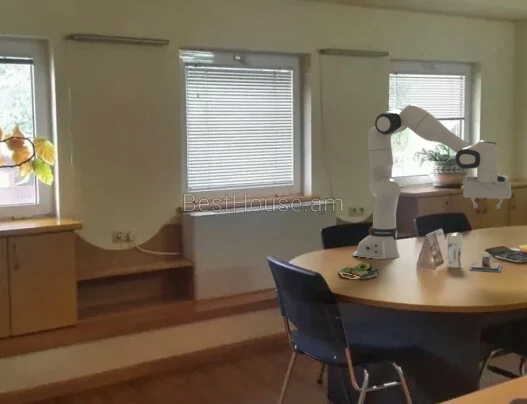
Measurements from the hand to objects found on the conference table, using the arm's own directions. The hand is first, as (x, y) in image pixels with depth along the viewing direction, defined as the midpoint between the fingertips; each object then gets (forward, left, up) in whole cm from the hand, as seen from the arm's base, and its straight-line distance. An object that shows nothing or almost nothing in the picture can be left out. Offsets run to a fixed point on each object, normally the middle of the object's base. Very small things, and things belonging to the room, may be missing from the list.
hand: (486, 208), depth 297 cm
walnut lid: (0, 0, -27) cm, 27 cm away
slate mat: (0, 0, -27) cm, 27 cm away
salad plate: (-50, -29, -28) cm, 64 cm away
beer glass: (-13, -1, -27) cm, 30 cm away
